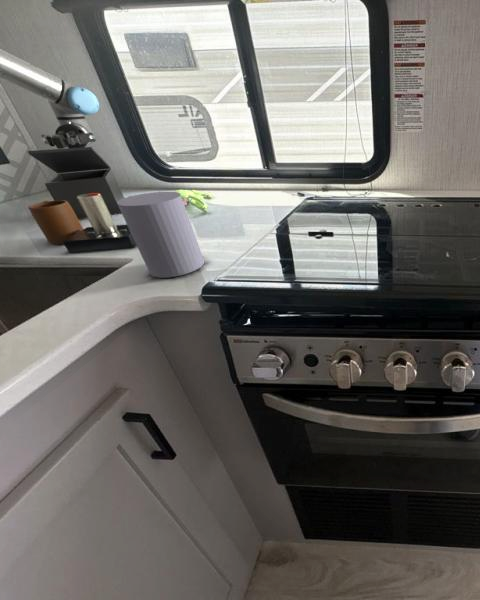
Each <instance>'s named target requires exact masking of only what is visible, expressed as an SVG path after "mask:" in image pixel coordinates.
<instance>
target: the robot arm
mask: <svg viewBox="0 0 480 600" xmlns="http://www.w3.org/2000/svg"><path fill="white" fill-rule="evenodd" d="M0 80H2V81H3V82H6V83H9V84H11V85H13V86H15V87H18V88H20V89H22V90H25V91H27V92H29V93H32V94H34V95H36V96H38V97H40V98H42V99H45V100H47V103H48V104H49V106H50V108H51V110H52V111H53V114H54V115H55V117H56V119H57V122H58V124H59V125H58V126H57V127H56V129H55V131H54V134H52V135H50V134H41V135H40V137H41V139H42V141H43V143H44V144H45V145H49V147H56V149H66V148H82V147H88V146H89V145H91V144H92V143H94V142H96V141H97V139H96V137H95V133H94V130H93V129H92V127H90V126H89V123H88V121H87V119H86V117H85V116H89V115H93V114H96V113H97V112H98V111H99V109H100V103H99V99H98V97H97V96H96V95H95V94H94V93H93V92H92V91H90V90H89V89H87V88H85V87H82V86H76V85H73V84H72V83H70V82H68V81H65V80H64V79H61V78H59V77H57V76H55V75H53V74H51V73H50V72H47V71H45V70H43V69H42V68H39V67H38V66H36V65H33V64H31V63H29V62H28V61H25V60H23V59H22V58H20V57H18V56H16V55H13V54H11V53H9V52H7V51H6V50H3V49H1V48H0Z"/></svg>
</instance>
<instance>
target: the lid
mask: <svg viewBox="0 0 480 600" xmlns="http://www.w3.org/2000/svg"><path fill="white" fill-rule="evenodd" d="M27 154H28V155H30V156H31V157H32V158H34V159H36V160H37V161H38V162H39V163H41V164H43V165H44V166H45V167H47V168H49V169H50V170H52V171H53V172H55V174H60V173H71V172H82V171H93V170H104V169H111V170H112V168H111V166H110V164H108V163H107V161H106V160H105V159H104V158H103V157H102V156H101V155H100V154H99V153H98V152H97V151H96V149H94V148H93V147H92V146H86V147H82V148H68V147H66V148H61V149H57V148H55V149H54V148H51V149H39V150H37V149H36V150H27Z"/></svg>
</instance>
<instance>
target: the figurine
mask: <svg viewBox="0 0 480 600" xmlns="http://www.w3.org/2000/svg"><path fill="white" fill-rule="evenodd" d="M172 192H177V193H180V195H181V198H182V200H183V203H184V206H187V204H188V203H187V201H188V202H189V204H190V205H191V206H193V207H195V208H197V209H198V210H201V211H202V212H203V213H204V214H207V213H208V211H207V208H208V204H207V203H206V202H205V201H204V197H205V198H209V199H210V198H212V197H213V194H212V193H211V192H208V193H205V192H202V191H199V190H194V189H191V190H188V189H176V190H173V191H172Z"/></svg>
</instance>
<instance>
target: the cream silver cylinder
mask: <svg viewBox="0 0 480 600" xmlns="http://www.w3.org/2000/svg"><path fill="white" fill-rule="evenodd" d="M77 199H78V201H79V203H80V204H81V206H82V208H83V210H84V212H85V214H86V216H87V218H86V219H88V221H89V223H90V225H91V227H93V229H94V231H95V233H96V234H99V235H101V234H109V233H112V232H115V231H117V230H118V229H117V227H116V225H117V224H116V223H115V221H114V219H113V217H112V214H111V215H110V213H109V211H108V209H107V207H106V205H105V202H104V200H103V198H102V196H101V194H100V193H89V194H83V195H79V196H77Z"/></svg>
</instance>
